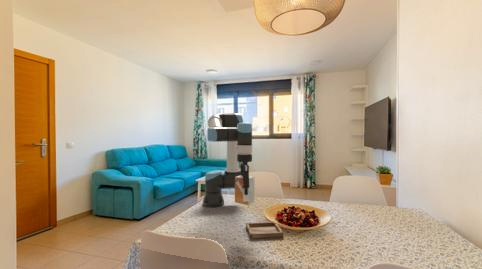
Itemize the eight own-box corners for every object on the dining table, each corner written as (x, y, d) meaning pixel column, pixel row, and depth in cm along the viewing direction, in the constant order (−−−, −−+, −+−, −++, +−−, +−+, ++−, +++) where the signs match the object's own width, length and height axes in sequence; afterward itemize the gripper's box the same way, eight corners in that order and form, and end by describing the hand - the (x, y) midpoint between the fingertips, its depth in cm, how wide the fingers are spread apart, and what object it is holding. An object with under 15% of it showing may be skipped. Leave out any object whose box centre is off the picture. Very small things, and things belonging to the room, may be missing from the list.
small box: (234, 202, 116) (234, 176, 116) (241, 199, 121) (241, 174, 121) (248, 205, 111) (248, 178, 111) (254, 202, 117) (254, 176, 117)
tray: (246, 227, 124) (246, 223, 124) (275, 226, 126) (275, 221, 126) (250, 239, 110) (250, 234, 110) (283, 237, 112) (283, 232, 112)
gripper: (235, 152, 127) (235, 192, 127) (239, 155, 105) (239, 205, 105) (249, 151, 127) (249, 192, 128) (255, 155, 105) (255, 204, 105)
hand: (244, 198), depth 116 cm, fingers closed on small box, 10 cm apart
